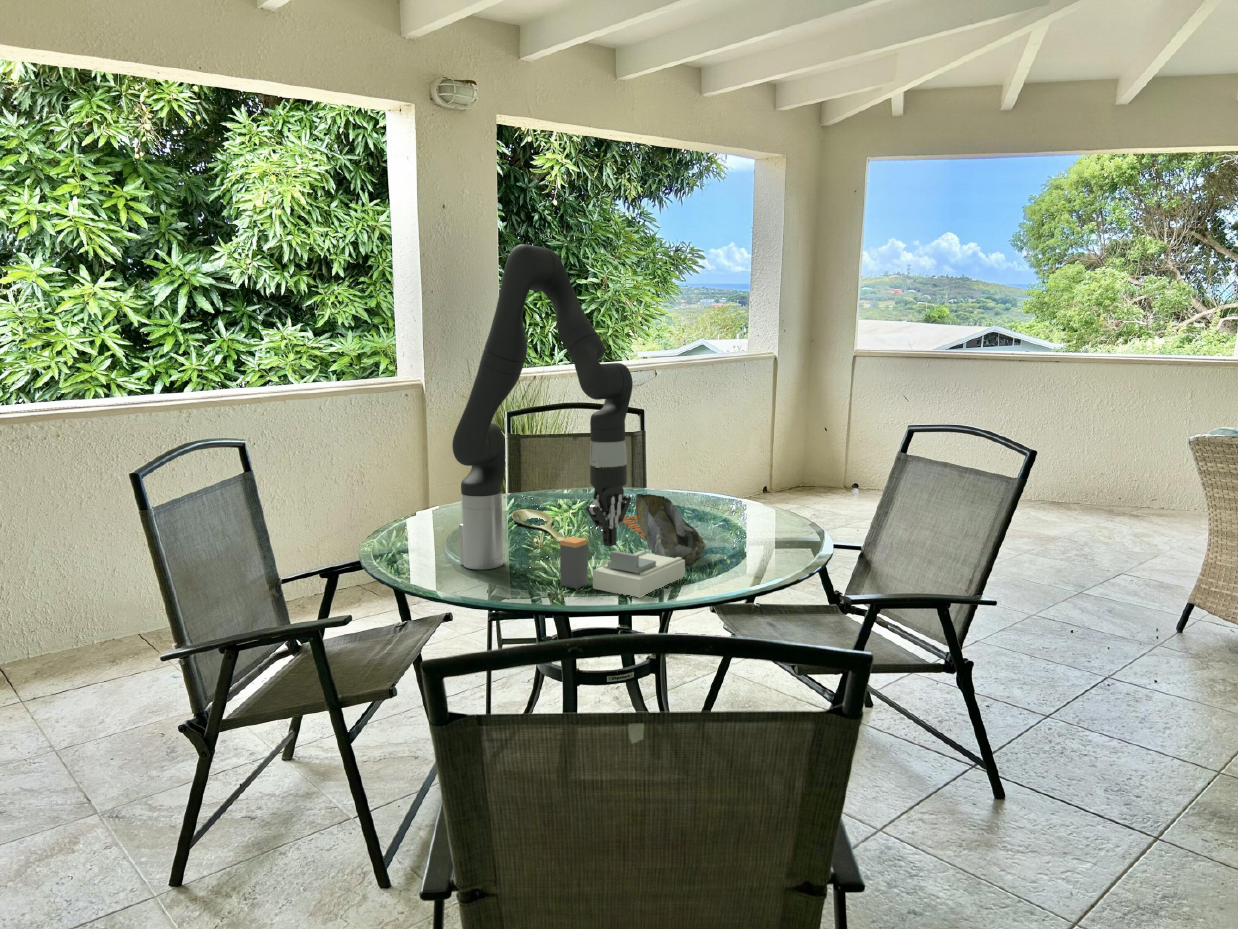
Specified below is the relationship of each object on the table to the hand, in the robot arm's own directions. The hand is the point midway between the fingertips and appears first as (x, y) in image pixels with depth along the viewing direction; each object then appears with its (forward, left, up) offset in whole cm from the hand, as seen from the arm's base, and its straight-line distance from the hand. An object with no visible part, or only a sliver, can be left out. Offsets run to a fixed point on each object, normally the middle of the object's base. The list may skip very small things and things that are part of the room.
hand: (609, 545), depth 187 cm
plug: (-11, +2, -11) cm, 16 cm away
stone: (-9, +36, -11) cm, 39 cm away
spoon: (-49, +37, -12) cm, 63 cm away
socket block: (0, +11, -11) cm, 16 cm away
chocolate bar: (-24, +55, -12) cm, 62 cm away
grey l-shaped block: (0, +8, -7) cm, 11 cm away
